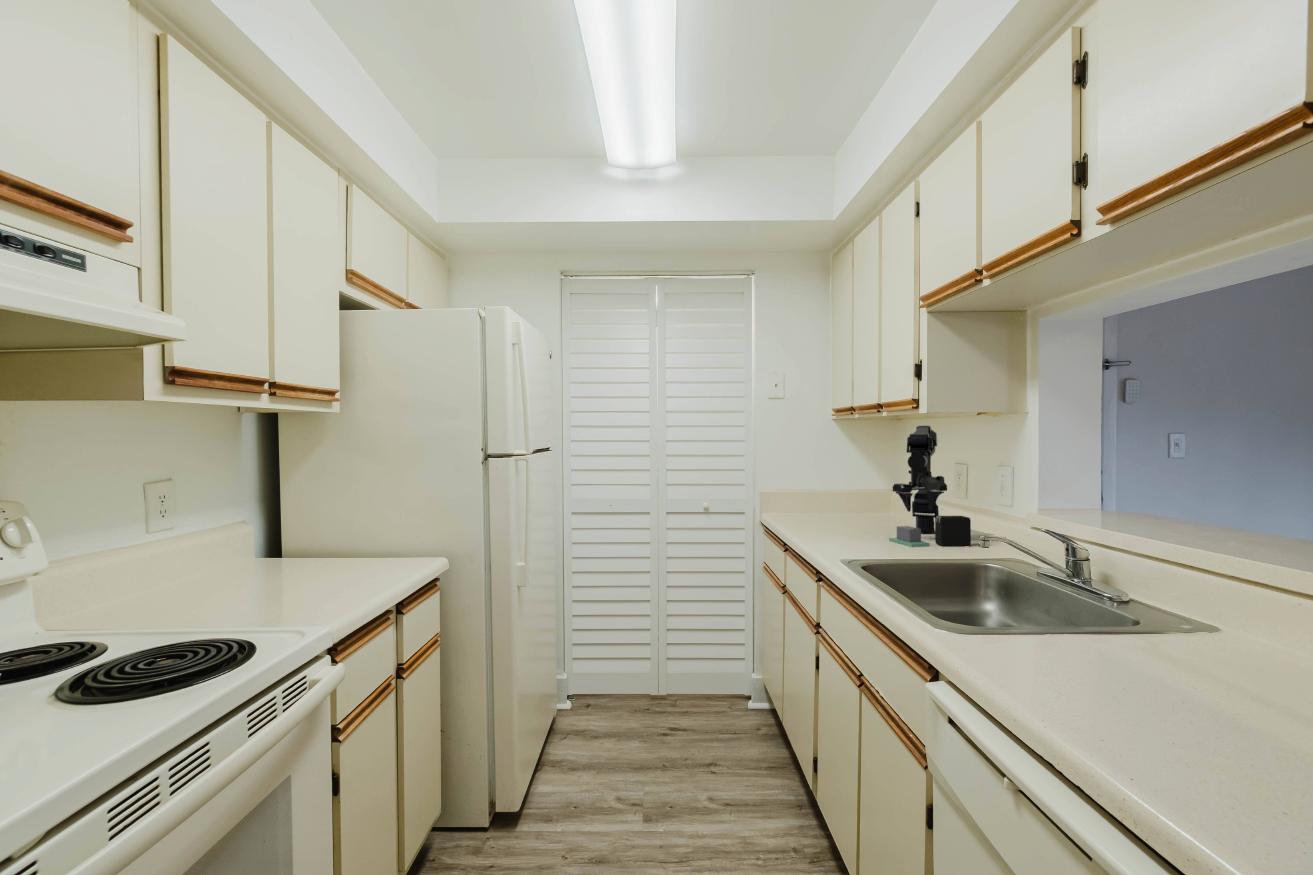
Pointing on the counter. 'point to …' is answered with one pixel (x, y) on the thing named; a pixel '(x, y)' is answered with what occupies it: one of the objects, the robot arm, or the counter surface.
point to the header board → (912, 544)
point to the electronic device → (952, 531)
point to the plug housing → (908, 534)
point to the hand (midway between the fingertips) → (920, 510)
